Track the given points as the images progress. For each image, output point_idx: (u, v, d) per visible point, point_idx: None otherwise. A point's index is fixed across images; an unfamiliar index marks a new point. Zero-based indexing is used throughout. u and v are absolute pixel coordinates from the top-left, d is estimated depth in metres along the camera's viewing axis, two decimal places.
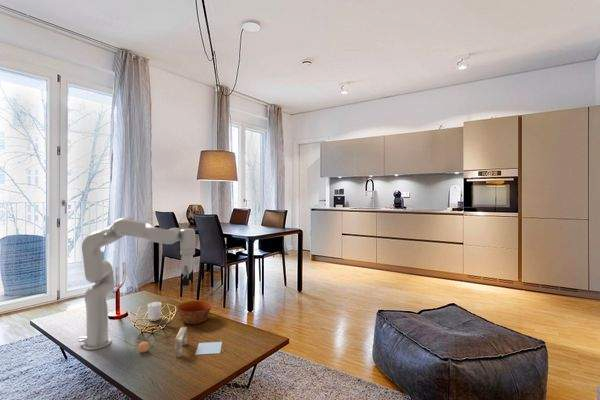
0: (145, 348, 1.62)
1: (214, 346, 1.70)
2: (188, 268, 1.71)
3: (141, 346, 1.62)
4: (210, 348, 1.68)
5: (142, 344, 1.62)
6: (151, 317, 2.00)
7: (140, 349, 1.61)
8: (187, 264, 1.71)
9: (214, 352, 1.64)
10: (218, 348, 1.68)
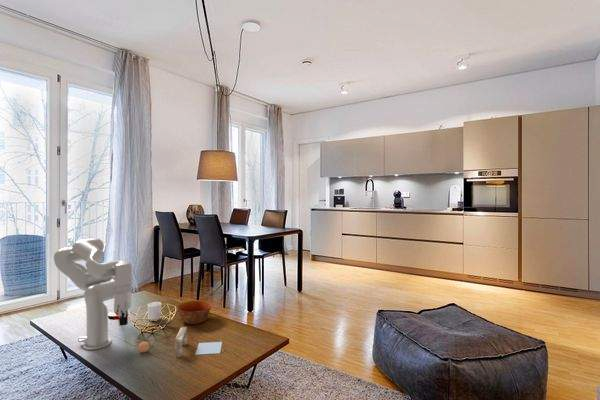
0: (145, 348, 1.62)
1: (214, 346, 1.70)
2: (122, 307, 1.57)
3: (141, 346, 1.62)
4: (210, 348, 1.68)
5: (142, 344, 1.62)
6: (151, 317, 2.00)
7: (140, 349, 1.61)
8: (121, 303, 1.57)
9: (214, 352, 1.64)
10: (218, 348, 1.68)
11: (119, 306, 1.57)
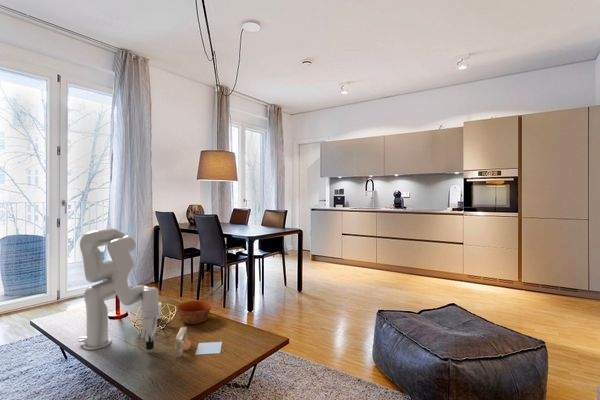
0: (187, 348, 1.65)
1: (214, 346, 1.70)
2: (149, 332, 1.59)
3: (186, 344, 1.65)
4: (210, 348, 1.68)
5: (187, 343, 1.65)
6: None
7: (183, 346, 1.64)
8: (148, 328, 1.59)
9: (214, 352, 1.64)
10: (218, 348, 1.68)
11: (146, 331, 1.59)
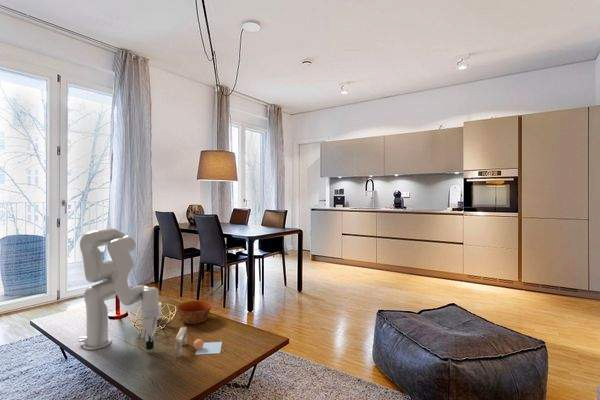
0: (194, 346, 1.65)
1: (214, 346, 1.70)
2: (149, 332, 1.59)
3: (198, 348, 1.66)
4: (210, 348, 1.68)
5: (197, 349, 1.66)
6: None
7: (199, 346, 1.65)
8: (148, 328, 1.59)
9: (214, 352, 1.64)
10: (218, 348, 1.68)
11: (146, 331, 1.59)
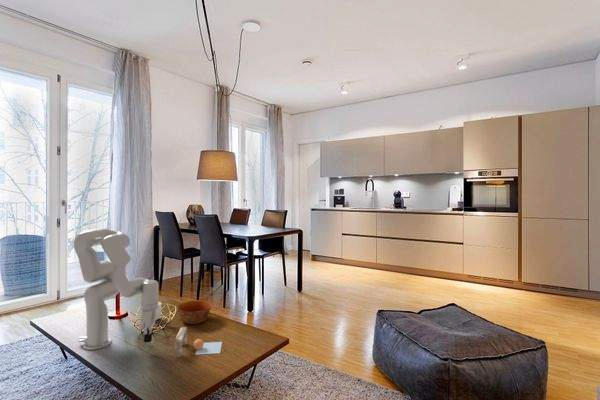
0: (194, 346, 1.65)
1: (214, 346, 1.70)
2: (148, 325, 1.59)
3: (198, 348, 1.66)
4: (210, 348, 1.68)
5: (197, 349, 1.66)
6: None
7: (199, 346, 1.65)
8: (147, 321, 1.59)
9: (214, 352, 1.64)
10: (218, 348, 1.68)
11: (145, 324, 1.59)
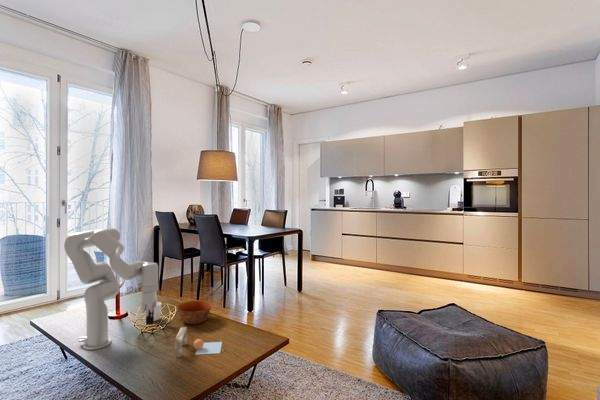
0: (194, 346, 1.65)
1: (214, 346, 1.70)
2: (149, 307, 1.59)
3: (198, 348, 1.66)
4: (210, 348, 1.68)
5: (197, 349, 1.66)
6: None
7: (199, 346, 1.65)
8: (148, 302, 1.59)
9: (214, 352, 1.64)
10: (218, 348, 1.68)
11: (146, 306, 1.59)
